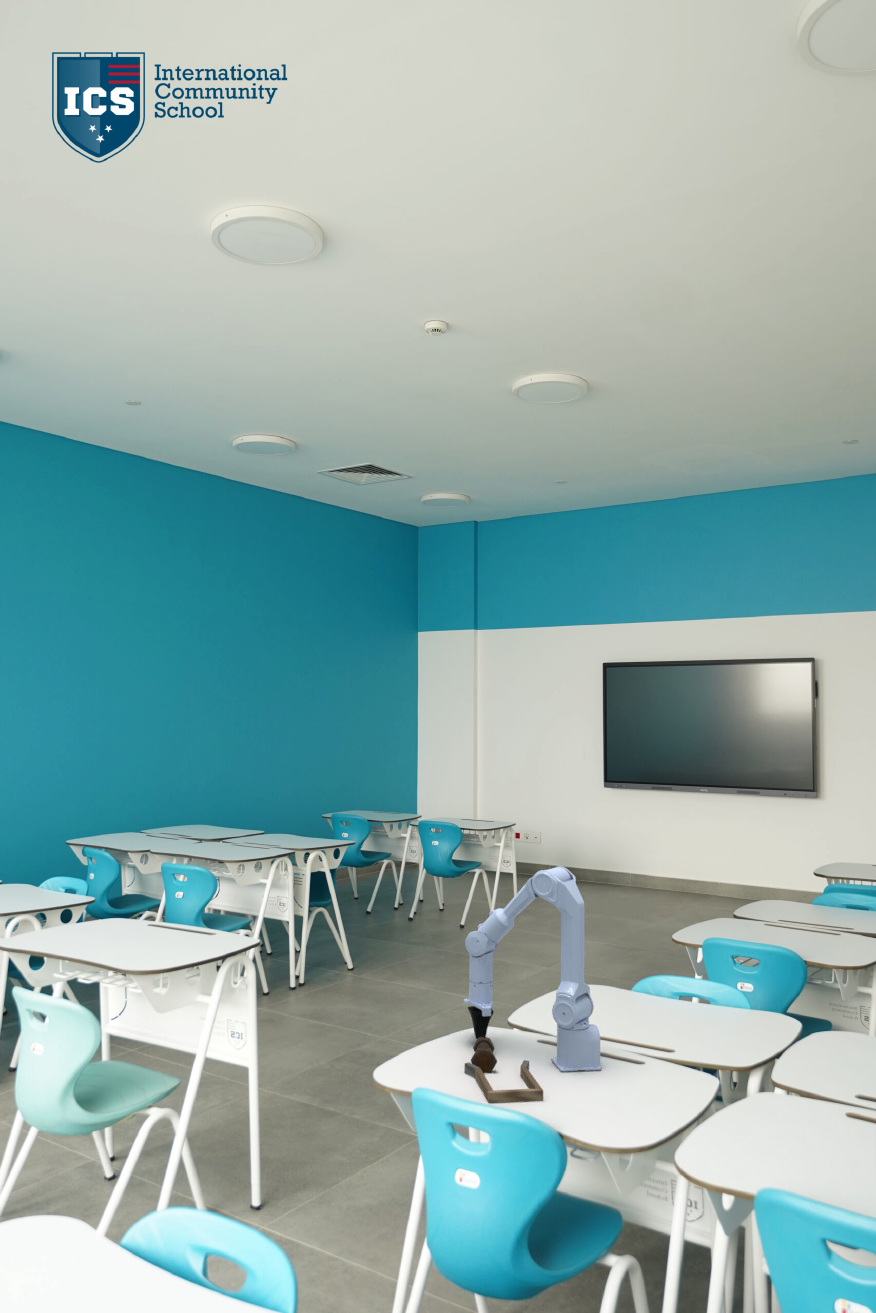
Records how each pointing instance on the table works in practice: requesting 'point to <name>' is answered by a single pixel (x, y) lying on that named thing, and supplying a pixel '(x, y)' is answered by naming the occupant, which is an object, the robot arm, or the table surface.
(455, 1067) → the table surface
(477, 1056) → the bolt
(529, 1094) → the frame
